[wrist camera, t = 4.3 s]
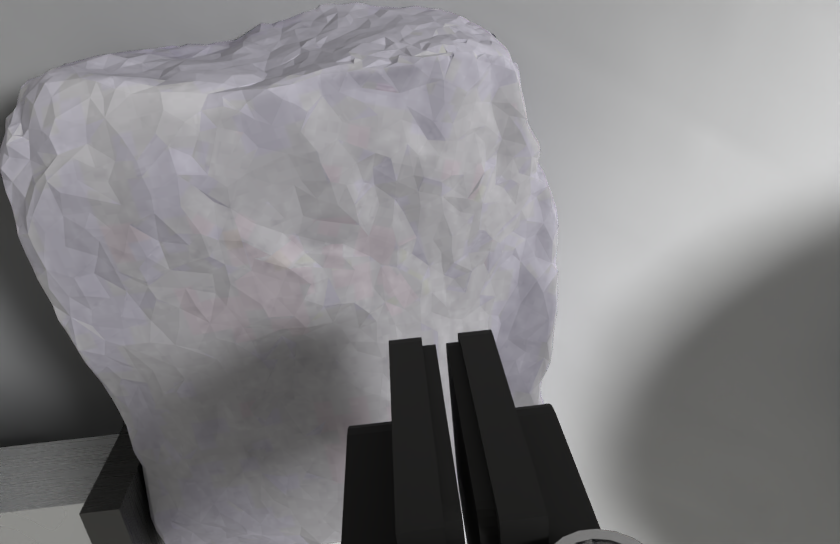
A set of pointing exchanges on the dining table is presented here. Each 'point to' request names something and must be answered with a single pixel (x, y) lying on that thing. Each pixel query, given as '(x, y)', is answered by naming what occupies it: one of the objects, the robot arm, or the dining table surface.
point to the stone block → (282, 245)
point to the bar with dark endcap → (75, 493)
